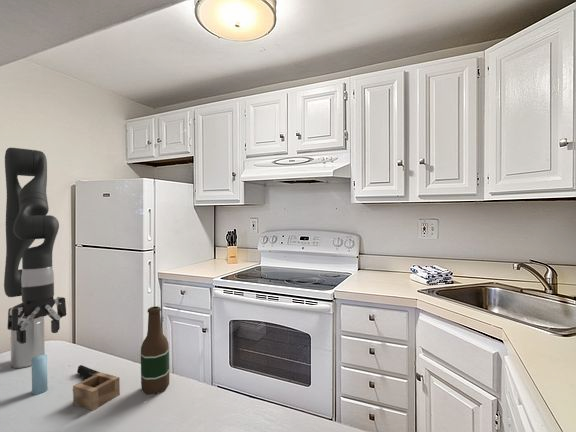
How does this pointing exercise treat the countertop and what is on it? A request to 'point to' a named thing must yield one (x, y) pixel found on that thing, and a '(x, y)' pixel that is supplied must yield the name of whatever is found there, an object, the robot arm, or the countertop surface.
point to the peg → (39, 374)
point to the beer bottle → (154, 356)
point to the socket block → (96, 391)
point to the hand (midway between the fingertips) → (39, 337)
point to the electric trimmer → (86, 372)
